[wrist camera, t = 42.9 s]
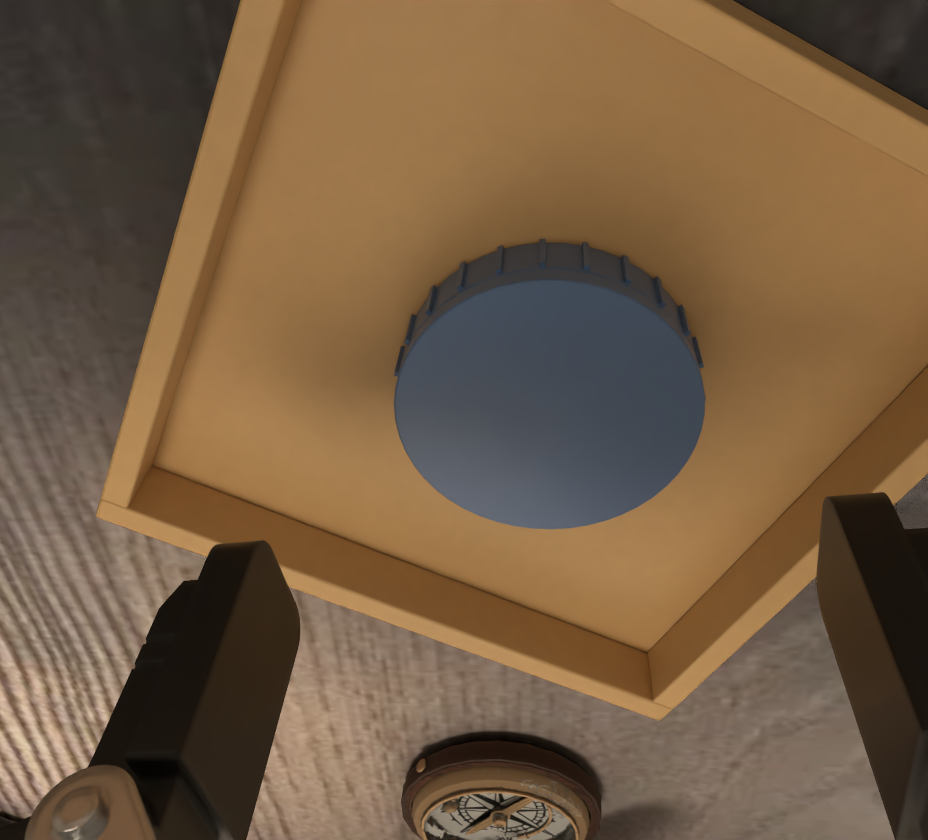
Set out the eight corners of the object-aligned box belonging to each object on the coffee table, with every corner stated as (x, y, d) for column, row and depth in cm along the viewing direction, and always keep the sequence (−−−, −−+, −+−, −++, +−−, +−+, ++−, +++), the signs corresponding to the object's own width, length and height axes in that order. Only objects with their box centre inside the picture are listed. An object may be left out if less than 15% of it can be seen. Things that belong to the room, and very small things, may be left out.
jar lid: (370, 439, 19) (358, 485, 18) (450, 194, 15) (442, 230, 14) (623, 514, 20) (628, 563, 18) (753, 295, 16) (770, 338, 15)
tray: (332, -227, 12) (301, -225, 11) (1101, 208, 15) (1162, 257, 14) (127, 461, 20) (94, 517, 19) (652, 659, 23) (660, 722, 22)
